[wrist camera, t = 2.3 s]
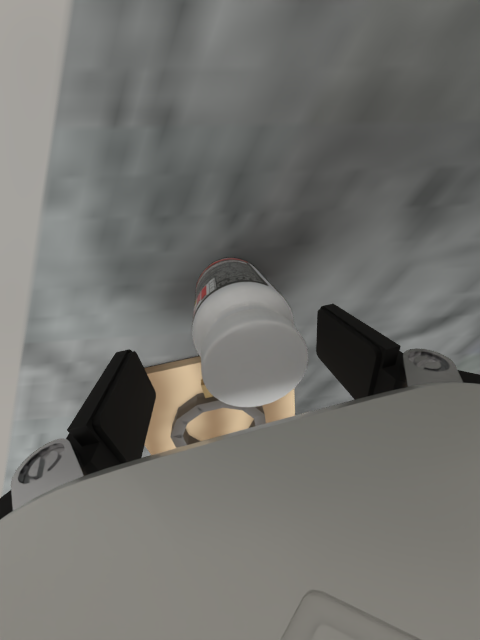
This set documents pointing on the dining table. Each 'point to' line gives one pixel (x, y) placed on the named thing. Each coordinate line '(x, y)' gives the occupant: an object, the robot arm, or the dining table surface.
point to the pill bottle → (245, 336)
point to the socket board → (199, 408)
